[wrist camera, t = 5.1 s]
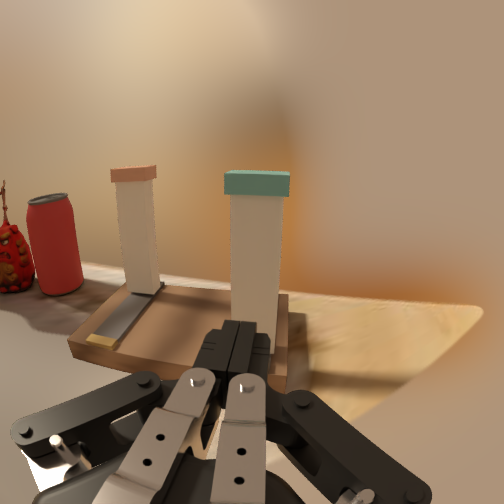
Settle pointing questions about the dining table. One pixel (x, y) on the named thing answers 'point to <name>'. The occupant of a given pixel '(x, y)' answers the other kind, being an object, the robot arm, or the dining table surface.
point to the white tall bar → (137, 227)
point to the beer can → (54, 244)
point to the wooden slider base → (166, 331)
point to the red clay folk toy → (14, 257)
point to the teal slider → (256, 245)
